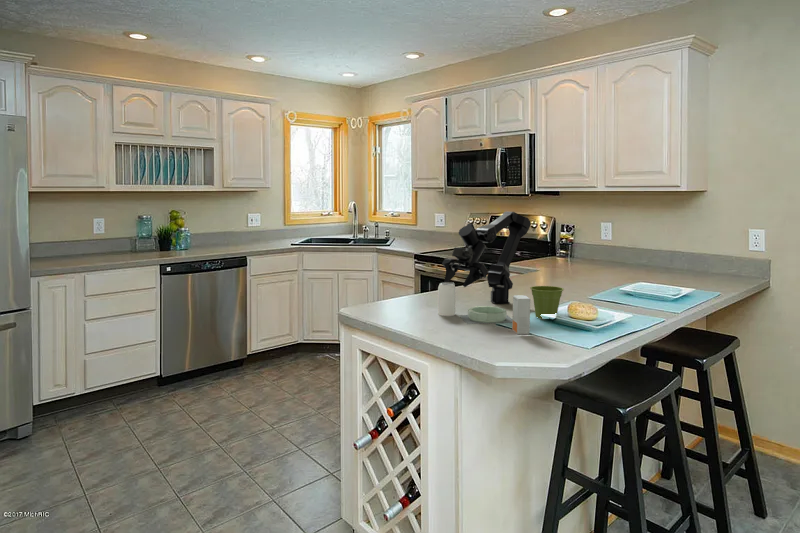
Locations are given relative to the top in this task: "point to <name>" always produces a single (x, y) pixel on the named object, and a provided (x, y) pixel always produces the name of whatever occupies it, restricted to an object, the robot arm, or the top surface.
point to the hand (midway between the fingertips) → (454, 284)
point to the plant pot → (546, 299)
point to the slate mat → (468, 321)
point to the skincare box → (521, 314)
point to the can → (446, 299)
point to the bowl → (487, 314)
